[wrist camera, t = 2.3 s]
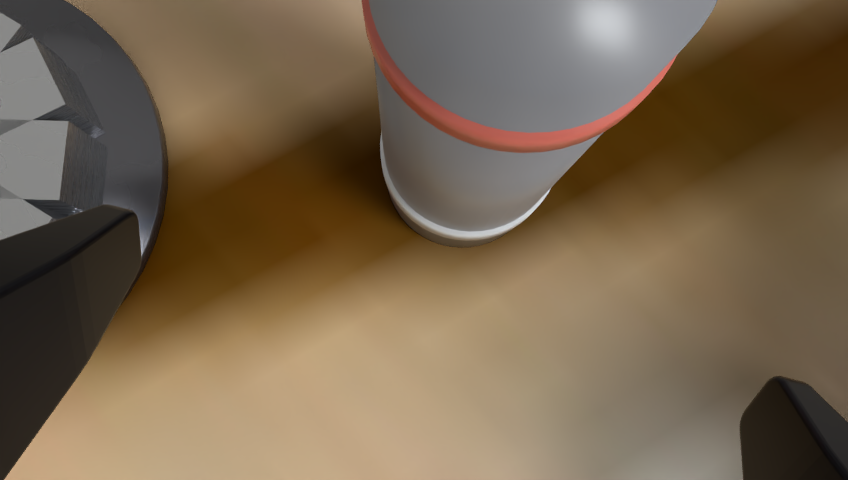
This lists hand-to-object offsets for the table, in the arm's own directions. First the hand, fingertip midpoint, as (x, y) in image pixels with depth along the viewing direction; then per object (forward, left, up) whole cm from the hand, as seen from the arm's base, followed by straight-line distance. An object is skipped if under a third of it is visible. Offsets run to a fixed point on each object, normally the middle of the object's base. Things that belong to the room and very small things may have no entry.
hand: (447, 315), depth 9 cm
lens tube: (+2, -5, -12) cm, 13 cm away
